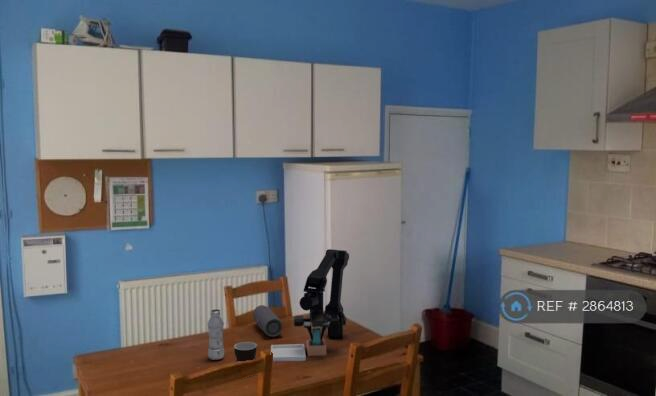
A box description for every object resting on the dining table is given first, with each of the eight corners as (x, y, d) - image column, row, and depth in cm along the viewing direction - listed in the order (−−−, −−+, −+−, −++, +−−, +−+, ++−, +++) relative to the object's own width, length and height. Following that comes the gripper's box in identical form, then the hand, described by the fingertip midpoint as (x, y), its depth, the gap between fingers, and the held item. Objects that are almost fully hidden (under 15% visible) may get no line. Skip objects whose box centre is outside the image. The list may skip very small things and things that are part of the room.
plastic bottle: (227, 356, 222) (226, 309, 220) (218, 363, 215) (218, 313, 214) (213, 354, 224) (212, 307, 222) (204, 360, 218) (203, 312, 216)
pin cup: (324, 348, 232) (324, 339, 231) (326, 355, 224) (326, 345, 224) (306, 349, 231) (306, 339, 231) (307, 355, 223) (307, 346, 223)
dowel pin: (320, 350, 229) (320, 327, 228) (320, 353, 226) (320, 330, 225) (312, 350, 229) (312, 327, 228) (312, 353, 226) (312, 330, 225)
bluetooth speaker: (251, 325, 262) (251, 305, 261) (270, 323, 266) (270, 303, 265) (263, 340, 241) (263, 318, 240) (283, 338, 244) (283, 316, 244)
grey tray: (303, 348, 232) (303, 344, 232) (305, 360, 218) (305, 356, 218) (271, 349, 231) (270, 345, 230) (270, 361, 217) (270, 357, 217)
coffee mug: (252, 376, 202) (252, 350, 202) (230, 374, 204) (230, 349, 203) (262, 364, 214) (262, 340, 213) (241, 363, 216) (241, 338, 215)
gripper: (294, 310, 217) (294, 348, 218) (341, 309, 219) (340, 346, 220) (293, 302, 228) (293, 338, 229) (338, 301, 230) (337, 337, 231)
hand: (316, 340), depth 227 cm, fingers closed on dowel pin, 3 cm apart
